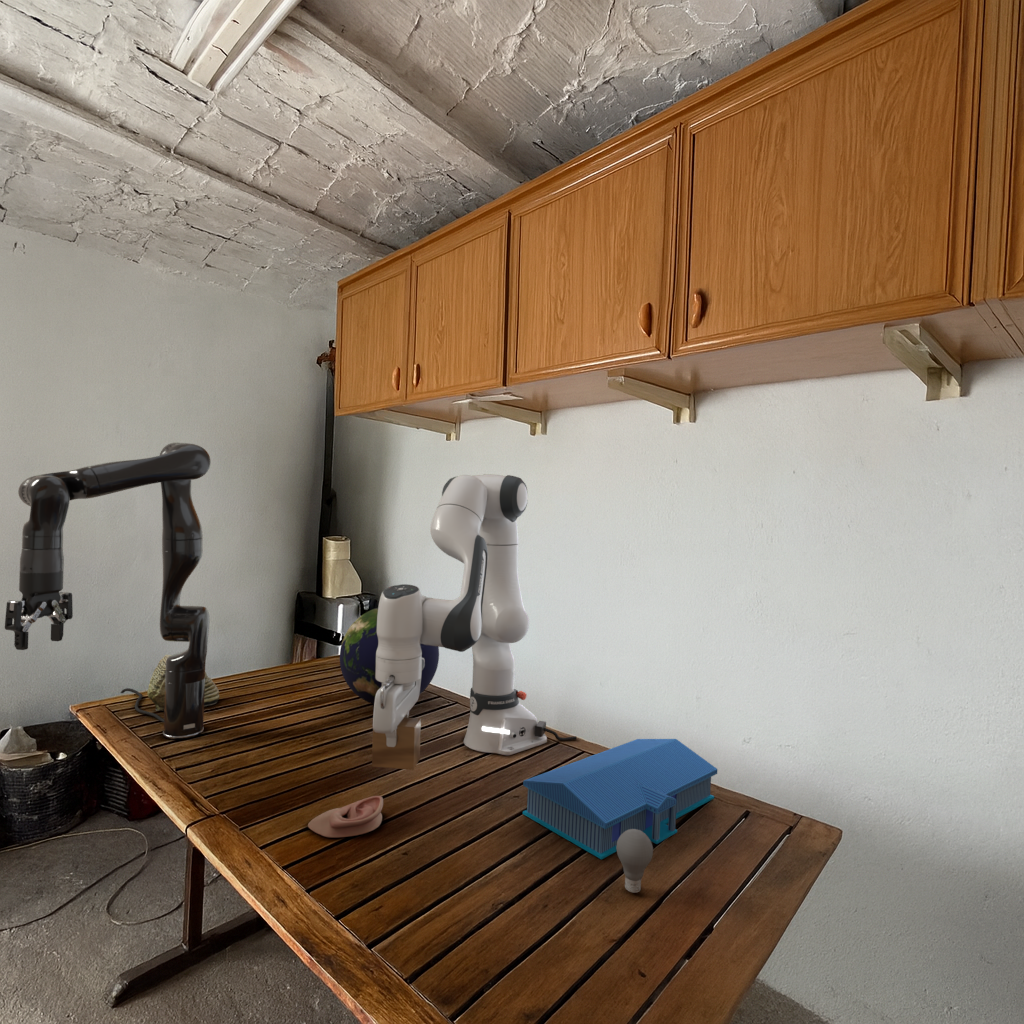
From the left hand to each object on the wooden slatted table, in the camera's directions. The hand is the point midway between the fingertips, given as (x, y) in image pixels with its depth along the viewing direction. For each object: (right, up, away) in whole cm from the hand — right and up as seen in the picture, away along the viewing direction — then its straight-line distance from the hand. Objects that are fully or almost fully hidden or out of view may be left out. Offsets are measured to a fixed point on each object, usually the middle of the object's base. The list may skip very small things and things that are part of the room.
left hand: (39, 645), depth 135 cm
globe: (+63, -31, +60) cm, 92 cm away
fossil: (+5, -28, +50) cm, 58 cm away
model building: (+125, -35, -1) cm, 130 cm away
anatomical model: (+69, -32, -12) cm, 77 cm away
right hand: (+78, -16, -11) cm, 81 cm away
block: (+78, -21, -11) cm, 82 cm away
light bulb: (+121, -35, -29) cm, 129 cm away
